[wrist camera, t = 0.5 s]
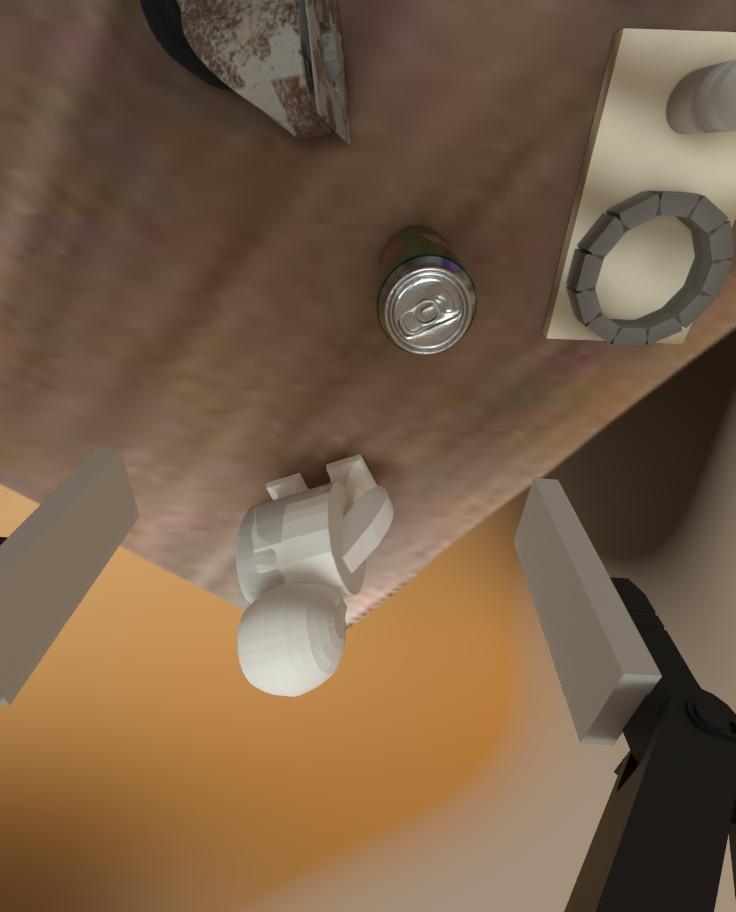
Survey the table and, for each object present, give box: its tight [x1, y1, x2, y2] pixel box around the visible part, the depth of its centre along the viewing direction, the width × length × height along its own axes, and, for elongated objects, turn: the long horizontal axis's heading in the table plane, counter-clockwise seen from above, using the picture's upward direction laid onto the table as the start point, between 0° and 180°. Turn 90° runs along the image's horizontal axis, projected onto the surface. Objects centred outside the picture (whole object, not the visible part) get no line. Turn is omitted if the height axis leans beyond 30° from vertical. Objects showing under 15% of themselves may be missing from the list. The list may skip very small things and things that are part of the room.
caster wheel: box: [140, 0, 351, 146], centre depth 24 cm, size 7×11×10 cm
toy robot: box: [233, 454, 394, 697], centre depth 35 cm, size 14×9×20 cm, turn 111°
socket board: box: [542, 28, 736, 346], centre depth 28 cm, size 17×10×6 cm, turn 178°
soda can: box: [377, 226, 477, 355], centre depth 28 cm, size 5×5×12 cm
